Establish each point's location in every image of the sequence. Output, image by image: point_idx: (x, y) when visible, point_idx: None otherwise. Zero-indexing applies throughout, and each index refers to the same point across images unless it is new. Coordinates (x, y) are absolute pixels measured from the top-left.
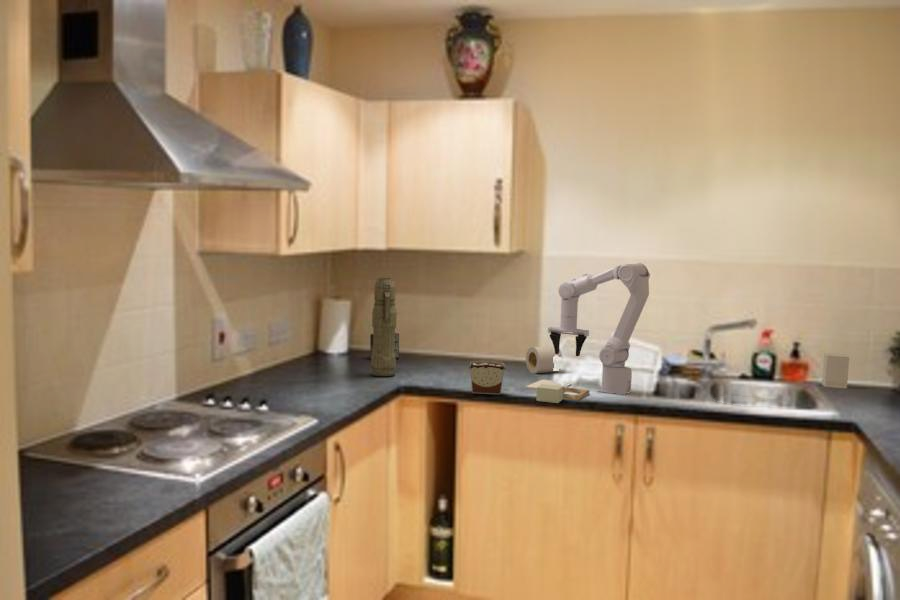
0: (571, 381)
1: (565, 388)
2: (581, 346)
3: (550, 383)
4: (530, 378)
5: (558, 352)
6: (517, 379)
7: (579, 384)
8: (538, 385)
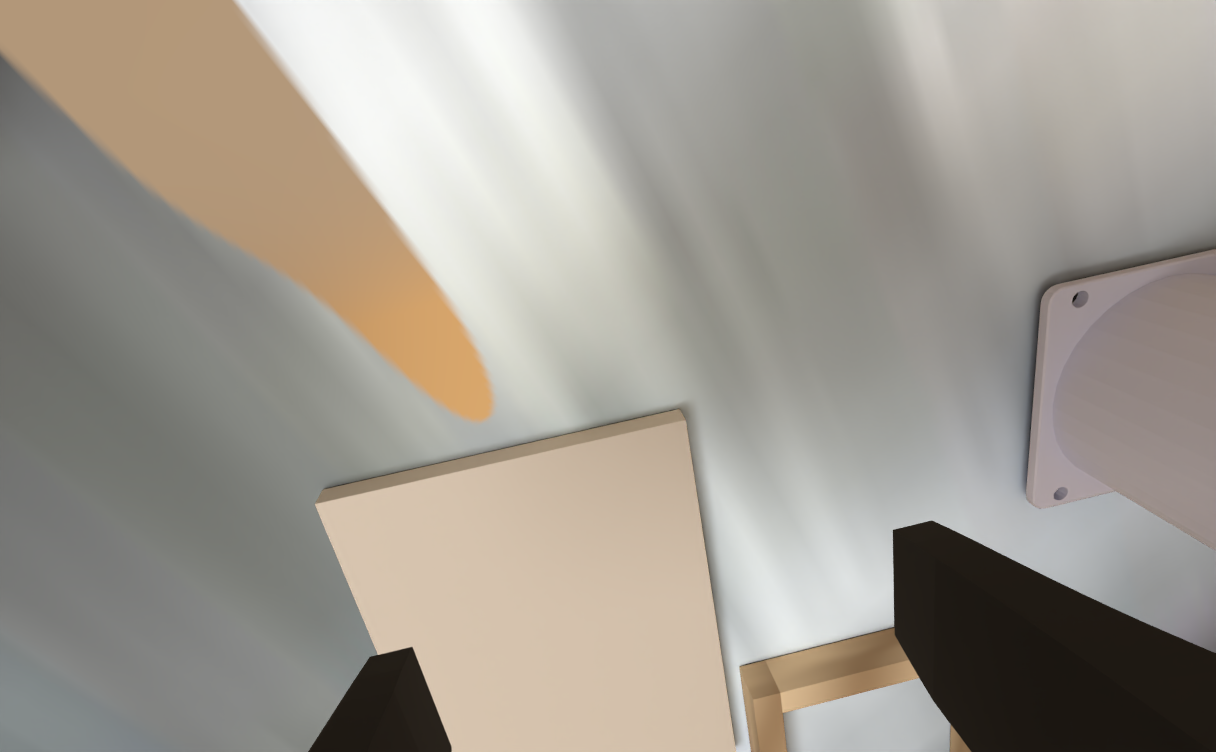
0: (546, 186)
1: (792, 703)
2: (1185, 678)
3: (530, 599)
4: (61, 430)
5: (419, 698)
6: (33, 591)
7: (717, 282)
8: (509, 741)
